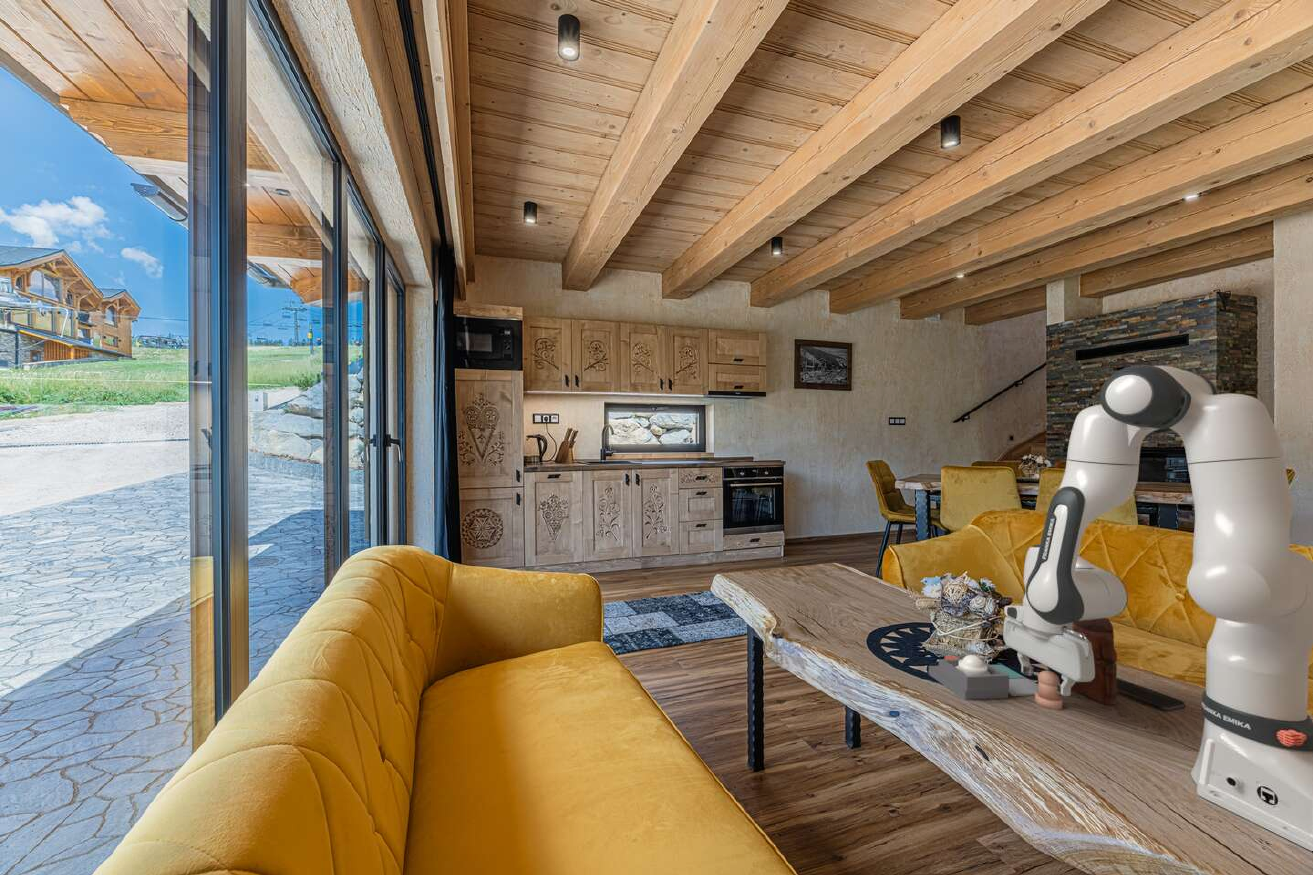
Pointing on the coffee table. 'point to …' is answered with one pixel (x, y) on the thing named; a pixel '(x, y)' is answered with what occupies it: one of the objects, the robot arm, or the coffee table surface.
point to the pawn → (1048, 691)
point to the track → (1018, 683)
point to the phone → (1148, 696)
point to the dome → (972, 666)
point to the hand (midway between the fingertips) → (1044, 683)
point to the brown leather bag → (1099, 660)
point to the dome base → (970, 680)
